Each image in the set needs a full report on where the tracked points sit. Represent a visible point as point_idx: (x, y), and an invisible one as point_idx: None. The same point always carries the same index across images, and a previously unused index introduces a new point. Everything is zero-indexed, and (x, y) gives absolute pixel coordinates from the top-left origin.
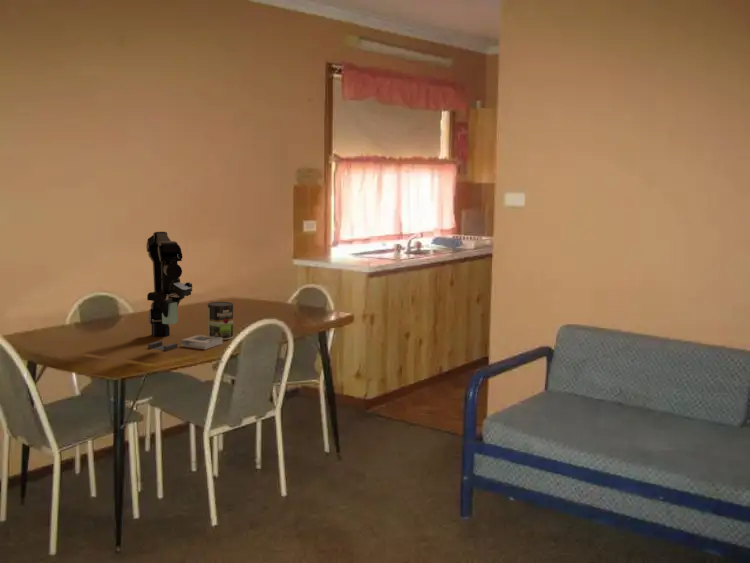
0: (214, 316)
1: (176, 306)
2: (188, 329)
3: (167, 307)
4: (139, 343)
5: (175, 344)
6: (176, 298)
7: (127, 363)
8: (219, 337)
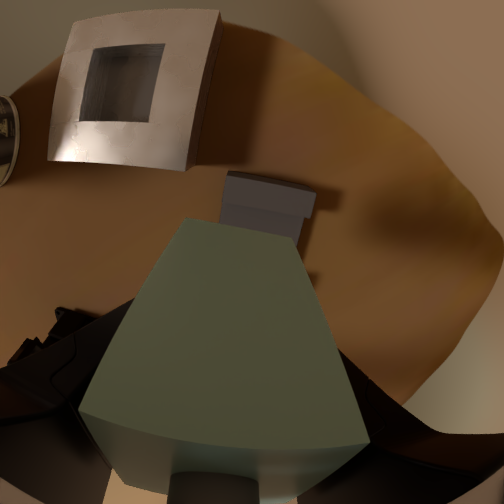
0: None
1: (143, 340)
2: None
3: (363, 398)
4: None
5: (246, 178)
6: (34, 477)
7: (458, 257)
8: (76, 30)
